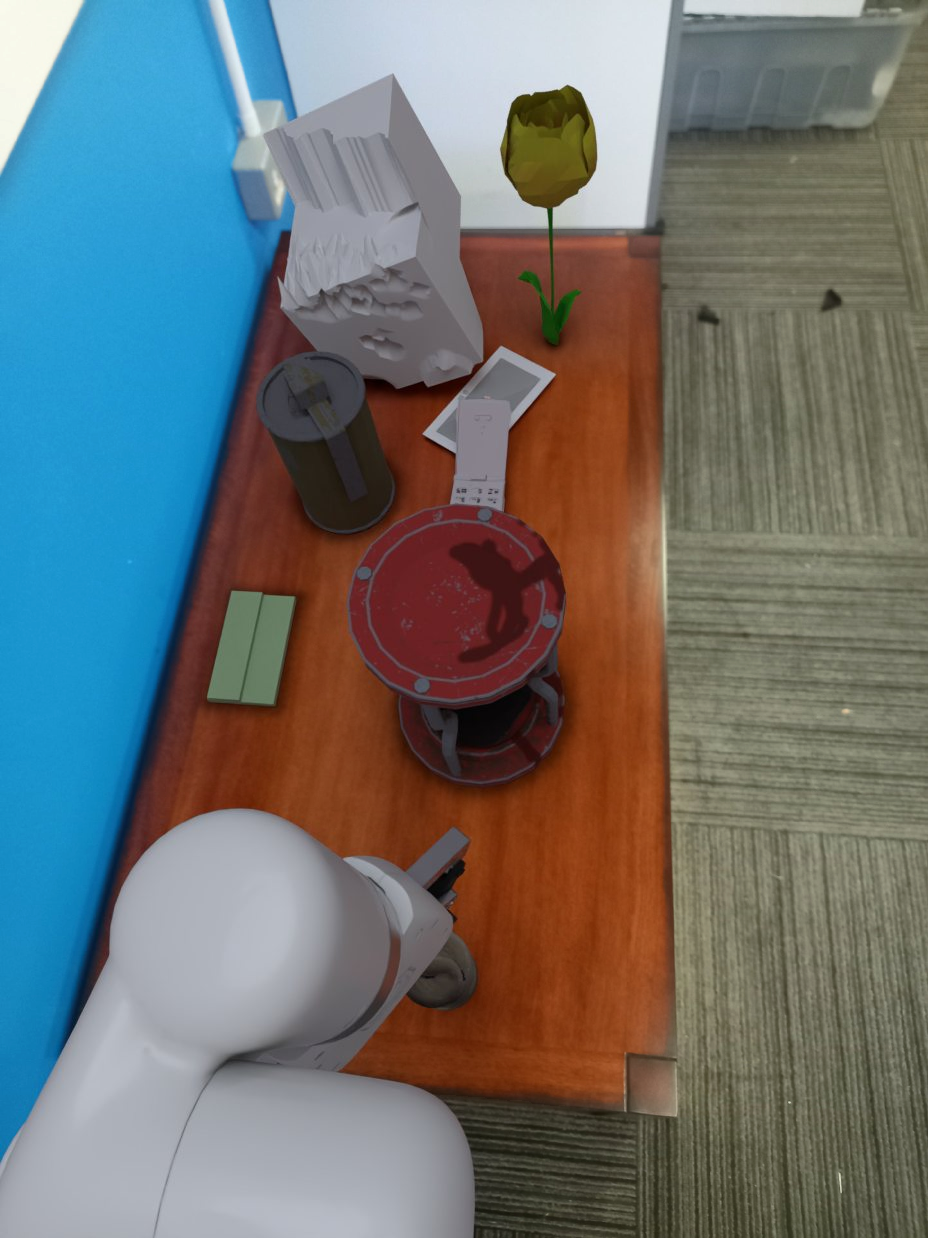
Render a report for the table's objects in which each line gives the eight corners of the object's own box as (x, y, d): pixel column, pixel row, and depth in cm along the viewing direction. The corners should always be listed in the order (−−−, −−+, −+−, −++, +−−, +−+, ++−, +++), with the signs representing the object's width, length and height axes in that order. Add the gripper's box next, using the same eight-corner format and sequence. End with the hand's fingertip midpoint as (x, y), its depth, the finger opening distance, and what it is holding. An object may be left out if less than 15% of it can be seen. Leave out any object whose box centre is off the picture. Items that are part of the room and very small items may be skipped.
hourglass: (537, 809, 83) (529, 729, 60) (377, 760, 86) (312, 666, 64) (583, 655, 89) (591, 528, 66) (432, 614, 92) (390, 481, 69)
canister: (288, 482, 101) (229, 363, 83) (369, 440, 102) (328, 314, 84) (329, 553, 96) (276, 444, 78) (413, 508, 98) (380, 391, 80)
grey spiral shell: (420, 946, 79) (391, 929, 65) (481, 938, 79) (465, 920, 65) (425, 1015, 76) (397, 1013, 63) (489, 1007, 76) (473, 1003, 63)
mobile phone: (512, 397, 95) (487, 607, 85) (515, 431, 101) (492, 632, 90) (456, 396, 96) (425, 604, 86) (462, 429, 101) (434, 629, 91)
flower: (575, 306, 107) (580, 62, 80) (597, 356, 104) (610, 119, 77) (506, 326, 107) (488, 88, 80) (526, 376, 104) (514, 146, 76)
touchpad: (556, 380, 103) (556, 367, 101) (478, 471, 99) (476, 460, 97) (501, 351, 105) (500, 339, 103) (423, 439, 101) (420, 428, 99)
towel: (275, 706, 90) (271, 702, 88) (209, 702, 90) (204, 697, 89) (297, 599, 94) (293, 593, 93) (233, 596, 95) (229, 590, 94)
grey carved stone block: (494, 387, 100) (383, 219, 80) (372, 423, 106) (239, 276, 86) (494, 254, 109) (394, 72, 88) (381, 295, 115) (262, 133, 94)
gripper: (225, 1195, 35) (328, 1141, 50) (507, 848, 39) (522, 897, 55) (106, 1055, 37) (239, 1045, 53) (383, 744, 42) (431, 819, 57)
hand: (383, 970), depth 54 cm, fingers open, 9 cm apart
